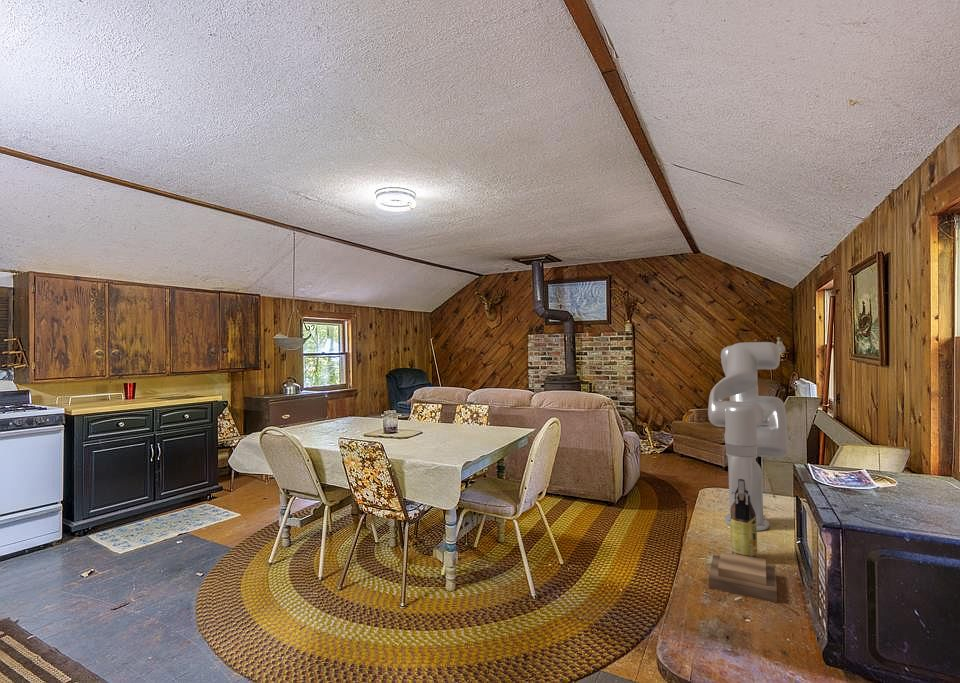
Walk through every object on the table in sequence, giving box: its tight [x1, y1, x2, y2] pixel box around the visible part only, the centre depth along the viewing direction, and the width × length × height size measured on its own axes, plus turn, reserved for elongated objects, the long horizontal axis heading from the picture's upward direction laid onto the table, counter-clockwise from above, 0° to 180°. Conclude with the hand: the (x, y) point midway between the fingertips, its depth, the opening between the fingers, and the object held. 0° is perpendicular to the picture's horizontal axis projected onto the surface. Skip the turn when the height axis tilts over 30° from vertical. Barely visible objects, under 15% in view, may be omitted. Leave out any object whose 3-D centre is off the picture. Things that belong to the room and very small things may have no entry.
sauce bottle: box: [729, 483, 758, 558], centre depth 132 cm, size 7×6×20 cm
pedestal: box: [708, 551, 778, 603], centre depth 119 cm, size 14×14×4 cm
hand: (743, 513), depth 131 cm, fingers open, 9 cm apart
